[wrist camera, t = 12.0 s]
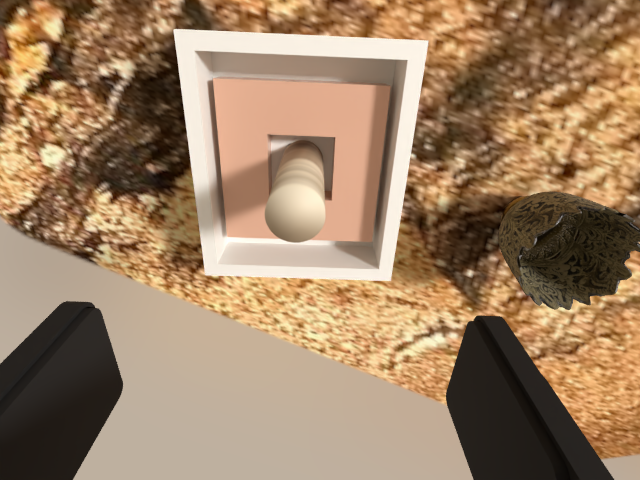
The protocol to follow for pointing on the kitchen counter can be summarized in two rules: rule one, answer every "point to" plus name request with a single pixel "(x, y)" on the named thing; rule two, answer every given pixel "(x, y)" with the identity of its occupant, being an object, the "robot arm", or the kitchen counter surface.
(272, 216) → the birch peg
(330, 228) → the bored plate
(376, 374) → the kitchen counter surface
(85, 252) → the kitchen counter surface
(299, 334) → the kitchen counter surface
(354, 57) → the open-top box
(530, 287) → the cup
